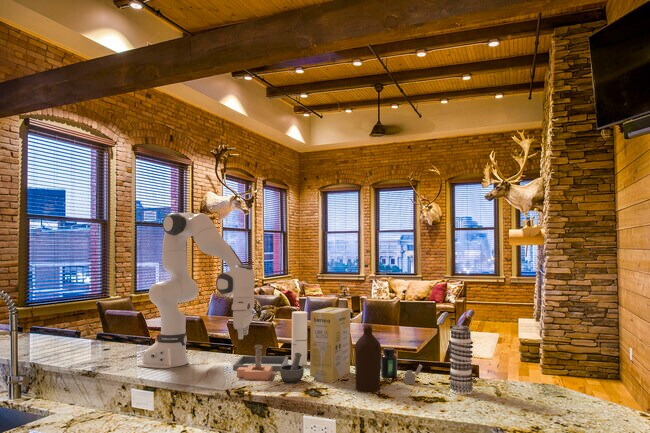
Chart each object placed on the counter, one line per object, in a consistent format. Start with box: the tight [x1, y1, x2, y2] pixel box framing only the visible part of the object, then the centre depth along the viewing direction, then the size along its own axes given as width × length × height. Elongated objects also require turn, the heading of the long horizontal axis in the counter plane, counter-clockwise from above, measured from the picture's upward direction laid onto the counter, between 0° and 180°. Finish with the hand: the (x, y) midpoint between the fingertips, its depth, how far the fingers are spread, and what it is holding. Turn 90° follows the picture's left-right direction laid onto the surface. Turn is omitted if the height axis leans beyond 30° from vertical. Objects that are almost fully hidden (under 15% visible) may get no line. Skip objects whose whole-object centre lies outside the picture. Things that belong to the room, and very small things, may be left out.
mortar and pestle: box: [279, 353, 305, 384], centre depth 190 cm, size 11×9×12 cm
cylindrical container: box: [290, 310, 308, 367], centre depth 219 cm, size 7×7×25 cm
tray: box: [232, 355, 289, 372], centre depth 215 cm, size 22×18×4 cm
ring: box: [236, 366, 273, 380], centre depth 197 cm, size 14×10×3 cm
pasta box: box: [309, 306, 351, 384], centre depth 204 cm, size 18×10×28 cm, turn 154°
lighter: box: [404, 363, 423, 385], centre depth 192 cm, size 7×2×8 cm, turn 75°
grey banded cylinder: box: [448, 324, 474, 395], centre depth 183 cm, size 9×9×25 cm
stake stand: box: [237, 344, 278, 382], centre depth 197 cm, size 14×14×14 cm
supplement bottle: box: [380, 347, 398, 379], centre depth 203 cm, size 7×7×12 cm
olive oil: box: [353, 323, 383, 393], centre depth 186 cm, size 11×11×25 cm
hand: (243, 336), depth 198 cm, fingers open, 8 cm apart
